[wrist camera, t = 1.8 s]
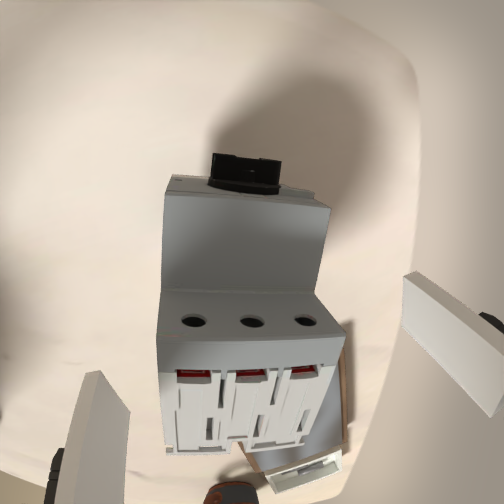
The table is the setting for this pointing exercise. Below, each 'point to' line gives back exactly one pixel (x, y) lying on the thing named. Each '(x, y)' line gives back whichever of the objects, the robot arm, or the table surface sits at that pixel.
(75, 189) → the table surface
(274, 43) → the table surface
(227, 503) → the mug
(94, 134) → the table surface
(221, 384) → the circuit breaker
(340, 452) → the tray
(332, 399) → the framed panel
